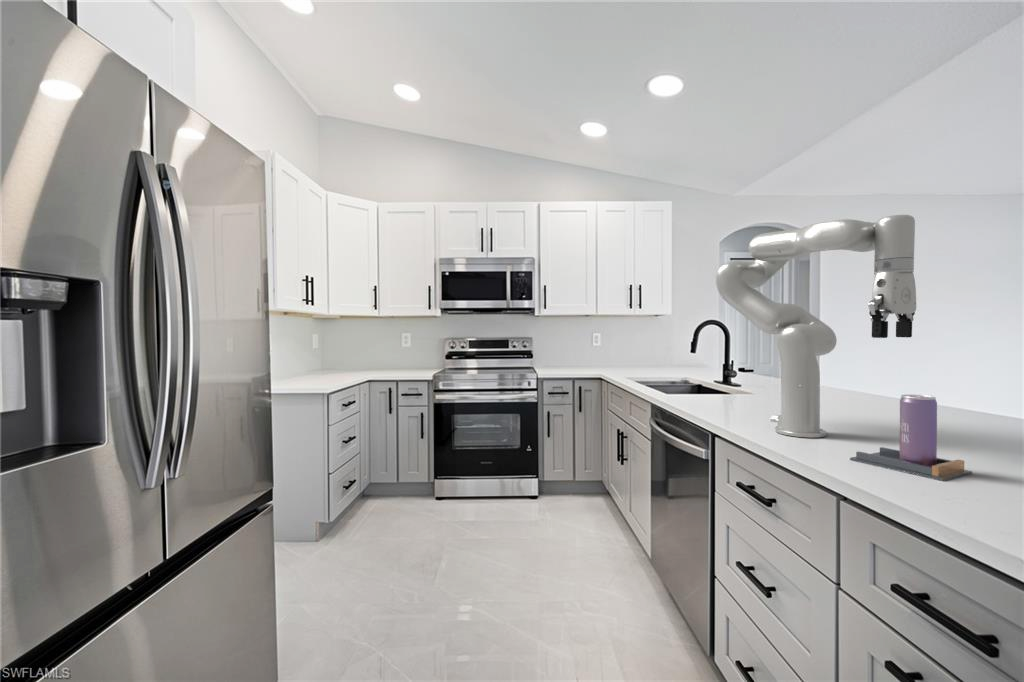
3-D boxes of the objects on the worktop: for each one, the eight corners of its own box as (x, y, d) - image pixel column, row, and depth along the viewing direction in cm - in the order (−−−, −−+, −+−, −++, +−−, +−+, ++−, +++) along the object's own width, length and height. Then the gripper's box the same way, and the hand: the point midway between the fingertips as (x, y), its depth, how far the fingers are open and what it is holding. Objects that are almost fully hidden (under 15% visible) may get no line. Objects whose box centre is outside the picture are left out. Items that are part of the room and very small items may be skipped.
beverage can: (944, 470, 96) (944, 398, 96) (912, 469, 97) (912, 398, 97) (922, 462, 102) (923, 394, 102) (892, 462, 103) (893, 394, 102)
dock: (850, 459, 107) (850, 449, 107) (878, 454, 111) (878, 443, 111) (943, 481, 91) (943, 468, 91) (971, 473, 96) (971, 461, 95)
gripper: (889, 263, 107) (887, 338, 107) (932, 267, 113) (930, 337, 114) (854, 267, 114) (853, 337, 114) (897, 270, 120) (895, 336, 121)
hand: (891, 337), depth 114 cm, fingers open, 9 cm apart
